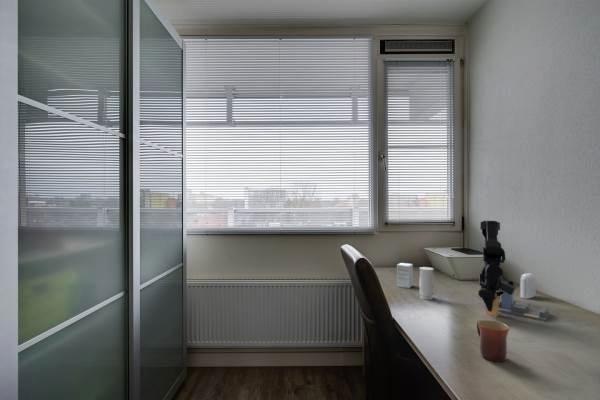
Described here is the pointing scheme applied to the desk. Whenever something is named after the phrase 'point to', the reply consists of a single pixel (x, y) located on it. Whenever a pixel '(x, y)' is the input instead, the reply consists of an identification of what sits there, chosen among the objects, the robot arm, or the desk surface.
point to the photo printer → (527, 286)
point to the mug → (493, 339)
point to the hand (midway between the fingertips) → (492, 309)
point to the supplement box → (404, 275)
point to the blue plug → (507, 300)
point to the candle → (426, 283)
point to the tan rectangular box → (494, 308)
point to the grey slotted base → (526, 311)
